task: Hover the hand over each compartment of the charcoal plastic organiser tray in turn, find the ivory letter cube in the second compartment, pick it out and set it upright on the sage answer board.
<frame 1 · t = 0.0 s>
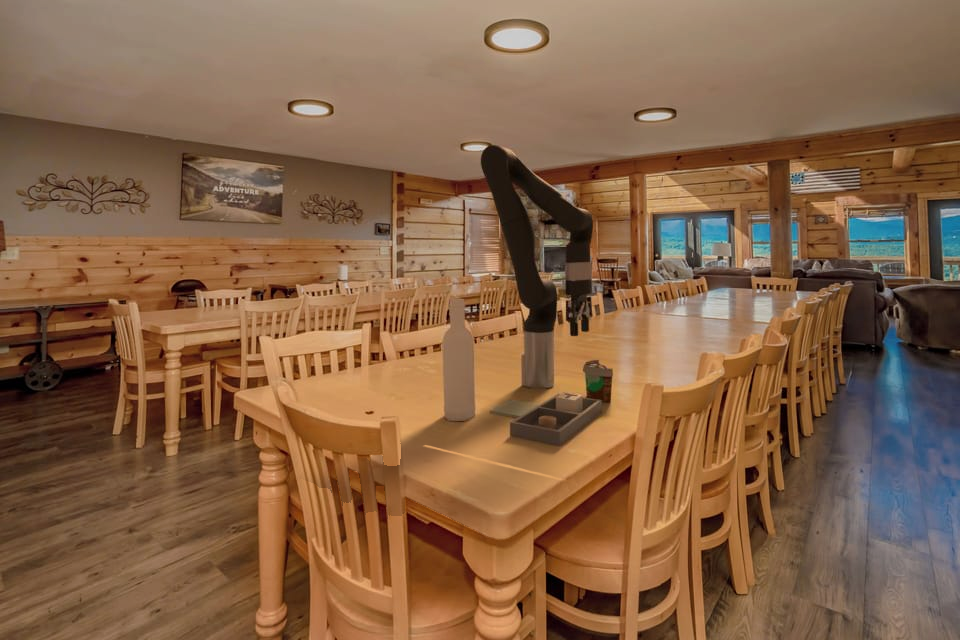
hand: (579, 333, 144), 17 cm above the table, tool pointing down, fingers open, 8 cm apart
organiser tray: (558, 424, 117), on the table
letter cube: (569, 415, 122), resting on organiser tray
answer board: (518, 411, 127), on the table
food container: (594, 400, 137), on the table
bottle: (459, 417, 124), on the table
tan oval stone: (547, 431, 112), resting on organiser tray
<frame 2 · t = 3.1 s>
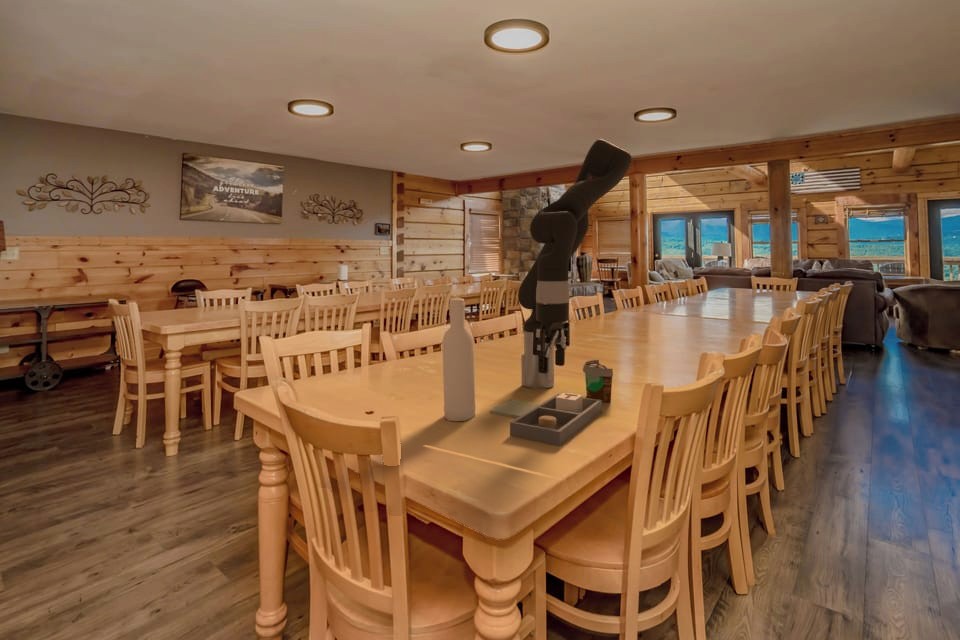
hand: (551, 369, 115), 14 cm above the table, tool pointing down, fingers open, 8 cm apart
nothing on the table moved.
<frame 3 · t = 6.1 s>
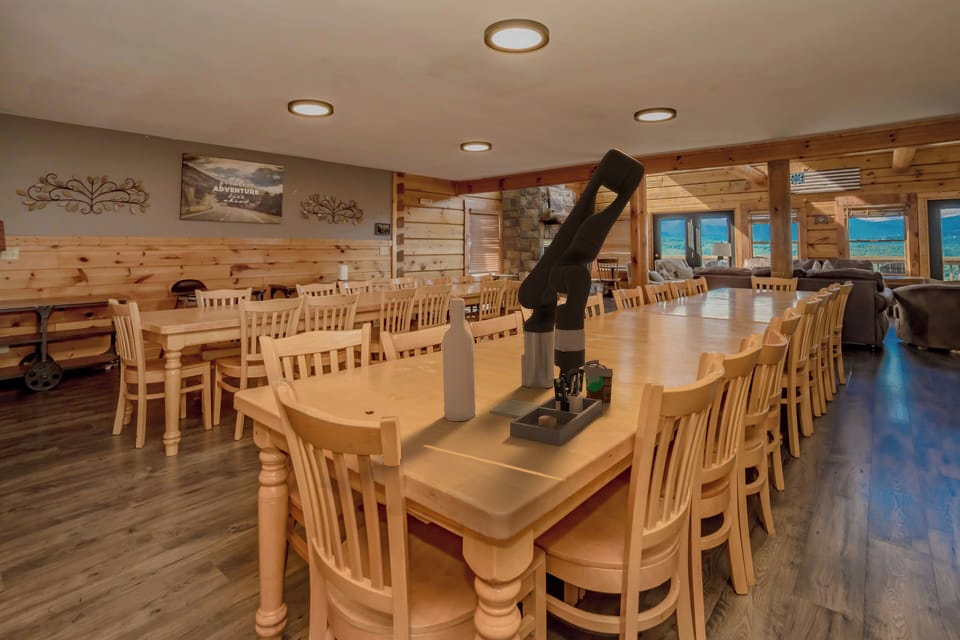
hand: (569, 413, 122), 1 cm above the table, tool pointing down, fingers closed on letter cube, 5 cm apart
letter cube: (569, 415, 122), resting on organiser tray, touching gripper
everything else where it was.
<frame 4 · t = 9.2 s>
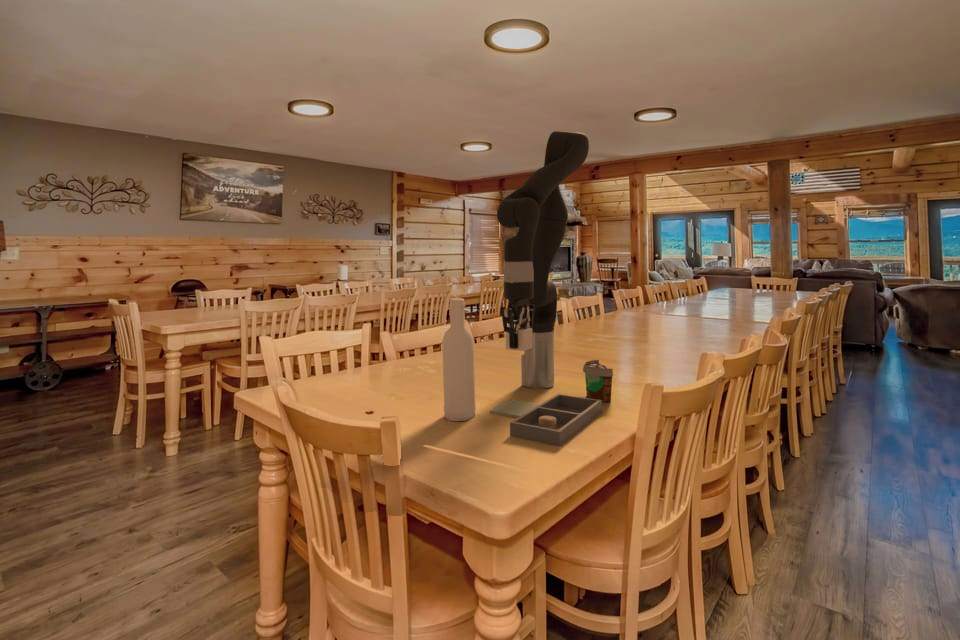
hand: (519, 346, 125), 17 cm above the table, tool pointing down, fingers closed on letter cube, 5 cm apart
letter cube: (519, 348, 125), point 17 cm above the table, touching gripper
everything else where it was.
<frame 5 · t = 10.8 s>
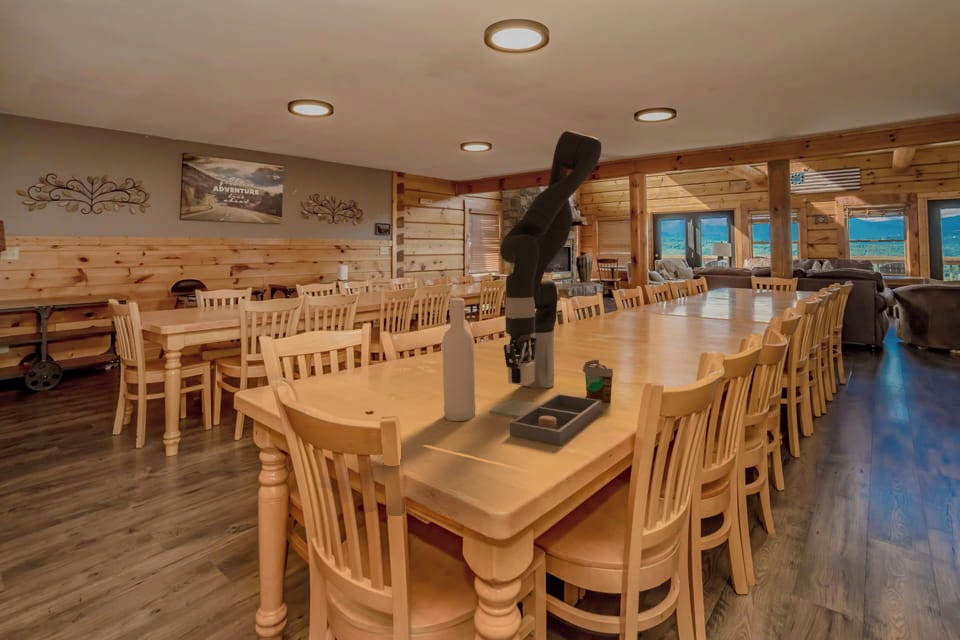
hand: (521, 380, 126), 8 cm above the table, tool pointing down, fingers closed on letter cube, 5 cm apart
letter cube: (521, 382, 126), point 8 cm above the table, touching gripper
everything else where it was.
when the fingers open (3 cm above the table, at t = 12.3 s): letter cube drops 1 cm, resting on answer board.
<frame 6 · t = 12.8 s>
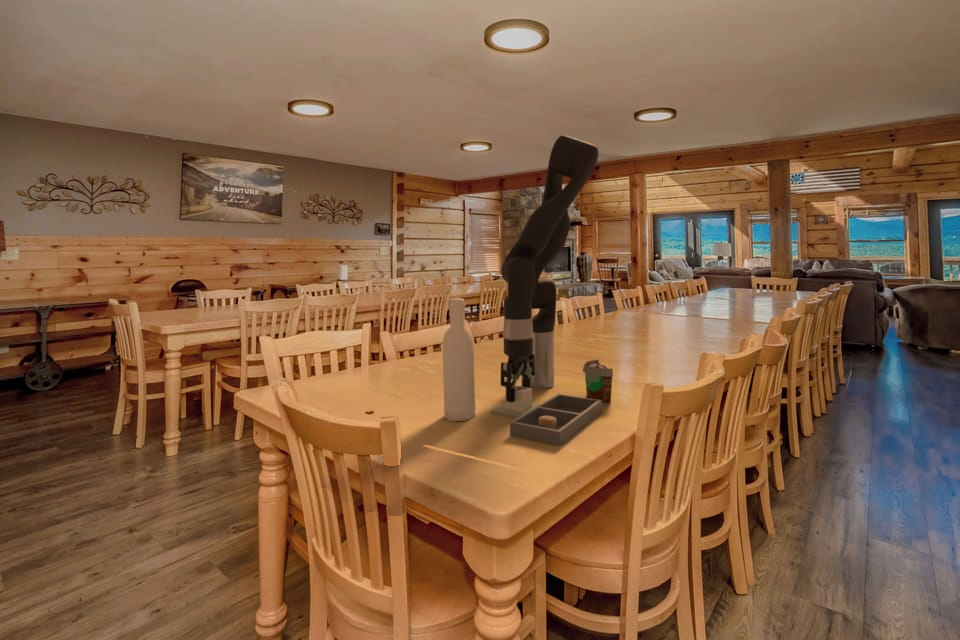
hand: (518, 397, 127), 4 cm above the table, tool pointing down, fingers open, 8 cm apart
letter cube: (519, 407, 127), point 1 cm above the table, touching answer board
everything else where it was.
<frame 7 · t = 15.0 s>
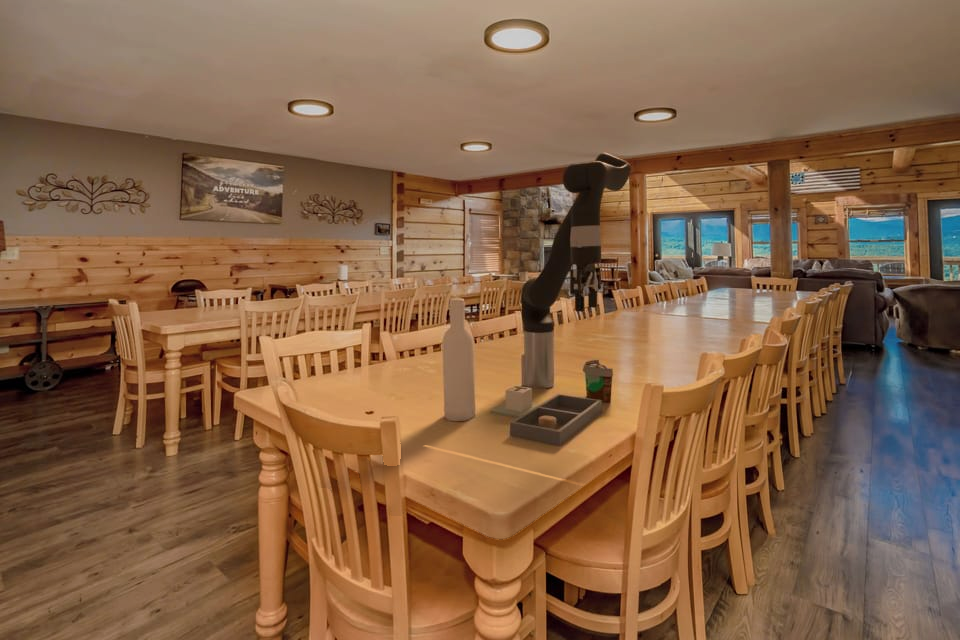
hand: (586, 309, 125), 26 cm above the table, tool pointing down, fingers open, 8 cm apart
nothing on the table moved.
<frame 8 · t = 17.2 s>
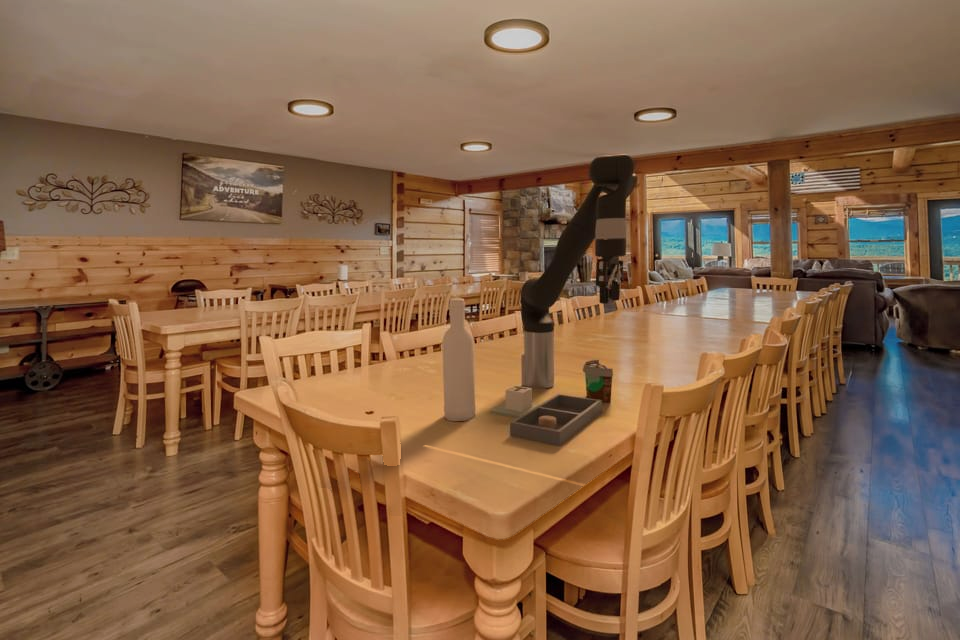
hand: (609, 301, 125), 28 cm above the table, tool pointing down, fingers open, 8 cm apart
nothing on the table moved.
at the end: letter cube inside the target area on the answer board (0.1 cm from its centre), point 1.0 cm above the answer board's base; letter cube tilted 0°; the gripper is holding nothing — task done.
